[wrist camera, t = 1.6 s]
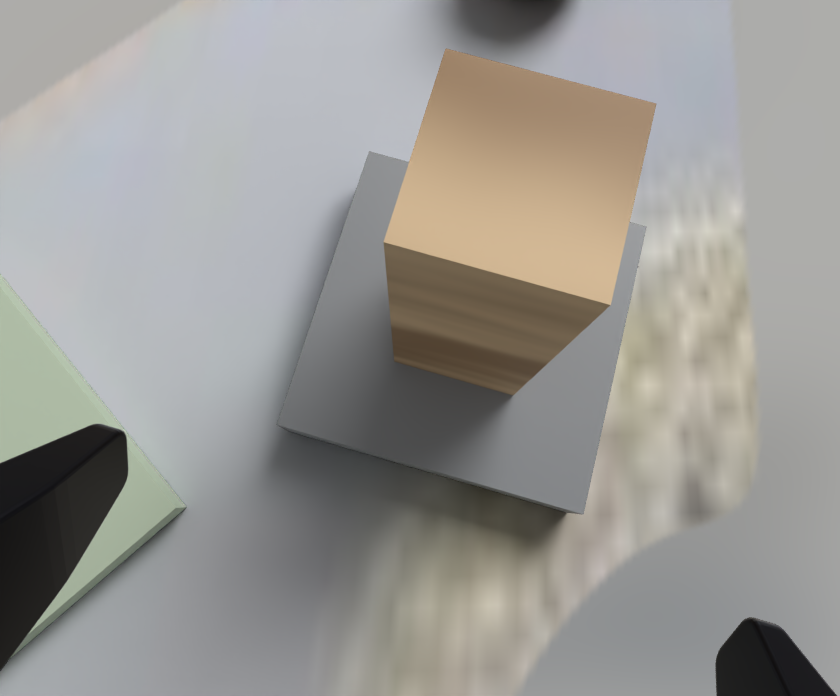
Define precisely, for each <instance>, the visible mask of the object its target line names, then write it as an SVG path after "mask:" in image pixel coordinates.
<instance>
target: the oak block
mask: <svg viewBox="0 0 840 696" xmlns="http://www.w3.org/2000/svg"><path fill="white" fill-rule="evenodd" d="M655 108H656V103H652V102H648V101H644V100H640V99H636V98H633V97H629V96H625V95H621V94H617V93H614V92H610V91H606V90H602V89H598V88H595V87H591V86H587V85H583V84H579V83H576V82H572V81H568V80H564V79H560V78H556V77H553V76H549V75H545V74H541V73H537V72H534V71H530V70H526V69H522V68H518V67H515V66H511V65H507V64H503V63H499V62H496V61H492V60H488V59H484V58H480V57H477V56H473V55H469V54H465V53H461V52H457V51H454V50H450V49H445V52H444V55H443V58H442V61H441V64H440V68H439V71H438V74H437V77H436V80H435V83H434V86H433V89H432V93H431V96H430V99H429V102H428V105H427V108H426V111H425V114H424V117H423V121H422V124H421V127H420V130H419V133H418V136H417V139H416V142H415V145H414V149H413V152H412V155H411V158H410V161H409V164H408V167H407V170H406V173H405V177H404V180H403V183H402V186H401V189H400V192H399V195H398V198H397V201H396V205H395V208H394V211H393V214H392V217H391V220H390V223H389V226H388V230H387V233H386V236H385V239H384V253H385V264H386V275H387V286H388V298H389V309H390V320H391V331H392V342H393V353H394V362H397V363H401V364H404V365H408V366H411V367H415V368H418V369H422V370H425V371H429V372H432V373H436V374H439V375H443V376H446V377H450V378H453V379H457V380H460V381H464V382H467V383H471V384H474V385H478V386H481V387H485V388H488V389H492V390H495V391H499V392H502V393H506V394H509V395H514V394H515V393H517V392H518V391H519V390H520V389H521V388H522V387H523V386H524V385H525V384H526V383H527V382H528V381H529V380H531V379H532V378H533V377H534V376H535V375H536V374H537V373H538V372H539V371H540V370H541V369H542V368H544V367H545V366H546V365H547V364H548V363H549V362H550V361H551V360H552V359H553V358H554V357H555V356H556V355H558V354H559V353H560V352H561V351H562V350H563V349H564V348H565V347H566V346H567V345H568V344H569V343H570V342H572V341H573V340H574V339H575V338H576V337H577V336H578V335H579V334H580V333H581V332H582V331H583V330H584V329H586V328H587V327H588V326H589V325H590V324H591V323H592V322H593V321H594V320H595V319H596V318H597V317H598V316H600V315H601V314H602V313H603V312H604V311H605V310H606V309H607V308H608V307H609V306H610V305H611V302H612V297H613V293H614V289H615V284H616V280H617V275H618V271H619V267H620V262H621V258H622V253H623V249H624V244H625V240H626V236H627V231H628V227H629V222H630V218H631V214H632V209H633V205H634V200H635V196H636V191H637V187H638V183H639V178H640V174H641V169H642V165H643V161H644V156H645V152H646V147H647V143H648V138H649V134H650V130H651V125H652V121H653V116H654V112H655Z"/></svg>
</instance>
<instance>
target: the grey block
mask: <svg viewBox="0 0 840 696" xmlns="http://www.w3.org/2000/svg"><path fill="white" fill-rule="evenodd" d="M408 164H409V162H407V161H403V160H399V159H396V158H392V157H388V156H385V155H381V154H377V153H373V152H370V151H369V153H368V156H367V159H366V162H365V165H364V168H363V171H362V174H361V177H360V180H359V183H358V186H357V189H356V191H355V194H354V197H353V200H352V203H351V206H350V209H349V212H348V215H347V218H346V221H345V224H344V227H343V230H342V233H341V236H340V239H339V242H338V245H337V248H336V251H335V253H334V256H333V259H332V262H331V265H330V268H329V271H328V274H327V277H326V280H325V283H324V286H323V289H322V292H321V295H320V298H319V301H318V304H317V307H316V310H315V312H314V315H313V318H312V321H311V324H310V327H309V330H308V333H307V336H306V339H305V342H304V345H303V348H302V351H301V354H300V357H299V360H298V363H297V366H296V369H295V372H294V374H293V377H292V380H291V383H290V386H289V389H288V392H287V395H286V398H285V401H284V404H283V407H282V410H281V413H280V416H279V419H278V422H277V425H278V426H280V427H282V428H284V429H285V430H287V431H290V432H293V433H297V434H300V435H304V436H307V437H311V438H314V439H317V440H321V441H324V442H328V443H331V444H334V445H338V446H341V447H345V448H348V449H352V450H355V451H358V452H362V453H365V454H369V455H372V456H375V457H379V458H382V459H386V460H389V461H393V462H396V463H399V464H403V465H406V466H410V467H413V468H416V469H420V470H423V471H427V472H430V473H434V474H437V475H440V476H444V477H447V478H451V479H454V480H458V481H461V482H464V483H468V484H471V485H475V486H478V487H481V488H485V489H488V490H492V491H495V492H499V493H502V494H505V495H509V496H512V497H516V498H519V499H522V500H526V501H529V502H533V503H536V504H540V505H543V506H546V507H550V508H553V509H557V510H560V511H563V512H567V513H575V514H584V509H585V505H586V500H587V496H588V491H589V487H590V482H591V477H592V473H593V468H594V464H595V459H596V455H597V450H598V446H599V441H600V436H601V432H602V427H603V423H604V418H605V414H606V409H607V404H608V400H609V395H610V391H611V386H612V382H613V377H614V373H615V368H616V363H617V359H618V354H619V350H620V345H621V341H622V336H623V332H624V327H625V322H626V318H627V313H628V309H629V304H630V300H631V295H632V291H633V286H634V281H635V277H636V272H637V268H638V263H639V259H640V254H641V249H642V245H643V240H644V236H645V231H646V226H643V225H639V224H635V223H632V222H629V227H628V231H627V236H626V240H625V244H624V249H623V253H622V258H621V262H620V267H619V271H618V275H617V280H616V284H615V289H614V293H613V297H612V302H611V305H610V306H609V307H608V308H607V309H606V310H605V311H604V312H603V313H602V314H601V315H600V316H598V317H597V318H596V319H595V320H594V321H593V322H592V323H591V324H590V325H589V326H588V327H587V328H586V329H584V330H583V331H582V332H581V333H580V334H579V335H578V336H577V337H576V338H575V339H574V340H573V341H572V342H570V343H569V344H568V345H567V346H566V347H565V348H564V349H563V350H562V351H561V352H560V353H559V354H558V355H556V356H555V357H554V358H553V359H552V360H551V361H550V362H549V363H548V364H547V365H546V366H545V367H544V368H542V369H541V370H540V371H539V372H538V373H537V374H536V375H535V376H534V377H533V378H532V379H531V380H529V381H528V382H527V383H526V384H525V385H524V386H523V387H522V388H521V389H520V390H519V391H518V392H517V393H515V394H514V395H509V394H506V393H502V392H499V391H495V390H492V389H488V388H485V387H481V386H478V385H474V384H471V383H467V382H464V381H460V380H457V379H453V378H450V377H446V376H443V375H439V374H436V373H432V372H429V371H425V370H422V369H418V368H415V367H411V366H408V365H404V364H401V363H397V362H394V353H393V342H392V331H391V320H390V309H389V298H388V286H387V275H386V264H385V253H384V239H385V236H386V233H387V230H388V226H389V223H390V220H391V217H392V214H393V211H394V208H395V205H396V201H397V198H398V195H399V192H400V189H401V186H402V183H403V180H404V177H405V173H406V170H407V167H408Z"/></svg>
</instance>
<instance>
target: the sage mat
mask: <svg viewBox="0 0 840 696" xmlns="http://www.w3.org/2000/svg"><path fill="white" fill-rule="evenodd" d="M92 424H104V425H107V426H110V427H114V428H117V429H121V430H122V431H124V433H125V434H126V437H127V451H128V477H127V480H126V483H125V485H124V487H123V489H122V491H121V493H120V494H119V496H118V498H117V499H116V501H115V503H114V504H113V506H112V508H111V509H110V511H109V513H108V514H107V516H106V518H105V520H104V521H103V523H102V525H101V526H100V528H99V530H98V531H97V533H96V535H95V536H94V538H93V540H92V541H91V543H90V545H89V546H88V548H87V550H86V551H85V553H84V555H83V556H82V558H81V560H80V561H79V563H78V565H77V566H76V568H75V570H74V571H73V573H72V574H71V576H70V577H69V579H68V581H67V582H66V583H65V585H64V586H63V588H62V589H61V590H60V592H59V593H58V595H57V596H56V597H55V599H54V600H53V601H52V603H51V604H50V605H49V607H48V608H47V609H46V611H45V612H44V613H43V615H42V616H41V617H40V619H39V620H38V621H37V623H36V624H35V625H34V627H33V628H32V629H31V631H30V632H29V633H28V635H27V636H26V638H25V639H24V640H23V642H22V643H21V644H20V646H19V647H18V648H17V650H16V651H15V652H14V654H13V655H12V656H11V657H13V656H14V655H15V654H16V653H17V652H18V651H20V650H21V649H22V648H23V647H24V646H25V645H27V644H28V643H29V642H30V641H31V640H32V639H34V638H35V637H36V636H37V635H38V634H39V633H41V632H42V631H43V630H44V629H45V628H46V627H48V626H49V625H50V624H51V623H52V622H53V621H54V620H56V619H57V618H58V617H59V616H60V615H61V614H63V613H64V612H65V611H66V610H67V609H68V608H70V607H71V606H72V605H73V604H74V603H75V602H77V601H78V600H79V599H80V598H81V597H82V596H84V595H85V594H86V593H87V592H88V591H89V590H91V589H92V588H93V587H94V586H95V585H96V584H98V583H99V582H100V581H101V580H102V579H103V578H105V577H106V576H107V575H108V574H109V573H110V572H112V571H113V570H114V569H115V568H116V567H117V566H119V565H120V564H121V563H122V562H123V561H124V560H126V559H127V558H128V557H129V556H130V555H131V554H133V553H134V552H135V551H136V550H137V549H138V548H140V547H141V546H142V545H143V544H144V543H145V542H147V541H148V540H149V539H150V538H151V537H152V536H154V535H155V534H156V533H157V532H158V531H159V530H161V529H162V528H163V527H164V526H165V525H166V524H168V523H169V522H170V521H171V520H172V519H173V518H175V517H176V516H177V515H178V514H179V513H180V512H182V511H183V510H184V509H185V508H186V506H185V505H184V504H183V502H182V501H181V500H180V499H179V497H178V496H177V495H176V494H175V492H174V491H173V490H172V489H171V487H170V486H169V485H168V484H167V482H166V481H165V480H164V479H163V477H162V476H161V475H160V474H159V472H158V471H157V470H156V469H155V467H154V466H153V465H152V464H151V462H150V461H149V460H148V459H147V457H146V456H145V455H144V454H143V452H142V451H141V450H140V449H139V447H138V446H137V445H136V444H135V442H134V441H133V440H132V439H131V437H130V436H129V435H128V434H127V432H126V431H125V430H124V429H123V427H122V426H121V425H120V423H119V422H118V421H117V420H116V418H115V417H114V416H113V415H112V413H111V412H110V411H109V410H108V408H107V407H106V406H105V405H104V403H103V402H102V401H101V400H100V398H99V397H98V396H97V395H96V393H95V392H94V391H93V390H92V388H91V387H90V386H89V385H88V383H87V382H86V381H85V380H84V378H83V377H82V376H81V375H80V373H79V372H78V371H77V370H76V368H75V367H74V366H73V365H72V363H71V362H70V361H69V360H68V358H67V357H66V356H65V355H64V353H63V352H62V351H61V350H60V348H59V347H58V346H57V345H56V343H55V342H54V341H53V340H52V338H51V337H50V336H49V335H48V333H47V332H46V331H45V330H44V328H43V327H42V326H41V325H40V323H39V322H38V321H37V320H36V318H35V317H34V316H33V315H32V313H31V312H30V311H29V310H28V308H27V307H26V306H25V305H24V303H23V302H22V301H21V300H20V298H19V297H18V296H17V295H16V293H15V292H14V291H13V290H12V288H11V287H10V286H9V285H8V283H7V282H6V281H5V280H4V278H3V277H2V276H1V275H0V463H1V462H4V461H6V460H8V459H11V458H13V457H16V456H18V455H20V454H23V453H25V452H27V451H30V450H32V449H35V448H37V447H39V446H42V445H44V444H47V443H49V442H51V441H54V440H56V439H58V438H61V437H63V436H66V435H68V434H70V433H73V432H75V431H77V430H80V429H82V428H85V427H87V426H89V425H92Z"/></svg>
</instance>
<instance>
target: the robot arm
mask: <svg viewBox="0 0 840 696" xmlns="http://www.w3.org/2000/svg"><path fill="white" fill-rule="evenodd" d="M127 477H128V451H127V437H126V434H125V433H124V431H122V430H121V429H117V428H114V427H110V426H107V425H104V424H92V425H89V426H87V427H85V428H82V429H80V430H77V431H75V432H73V433H70V434H68V435H66V436H63V437H61V438H58V439H56V440H54V441H51V442H49V443H47V444H44V445H42V446H39V447H37V448H35V449H32V450H30V451H27V452H25V453H23V454H20V455H18V456H16V457H13V458H11V459H8V460H6V461H4V462H1V463H0V671H1V670H2V668H3V667H4V666H5V664H6V663H7V662H8V660H9V659H10V658H11V656H12V655H13V654H14V652H15V651H16V650H17V648H18V647H19V646H20V644H21V643H22V642H23V640H24V639H25V638H26V636H27V635H28V633H29V632H30V631H31V629H32V628H33V627H34V625H35V624H36V623H37V621H38V620H39V619H40V617H41V616H42V615H43V613H44V612H45V611H46V609H47V608H48V607H49V605H50V604H51V603H52V601H53V600H54V599H55V597H56V596H57V595H58V593H59V592H60V590H61V589H62V588H63V586H64V585H65V583H66V582H67V581H68V579H69V577H70V576H71V574H72V573H73V571H74V570H75V568H76V566H77V565H78V563H79V561H80V560H81V558H82V556H83V555H84V553H85V551H86V550H87V548H88V546H89V545H90V543H91V541H92V540H93V538H94V536H95V535H96V533H97V531H98V530H99V528H100V526H101V525H102V523H103V521H104V520H105V518H106V516H107V514H108V513H109V511H110V509H111V508H112V506H113V504H114V503H115V501H116V499H117V498H118V496H119V494H120V493H121V491H122V489H123V487H124V485H125V483H126V480H127ZM716 692H717V696H837V695H836V694H835V693H834V691H833V690H832V689H831V688H830V687H829V685H828V684H827V683H826V682H825V680H824V679H823V678H822V677H821V675H820V674H819V673H818V672H817V670H816V669H815V668H814V667H813V665H812V664H811V663H810V662H809V660H808V659H807V658H806V657H805V656H804V654H803V653H802V652H801V650H799V648H798V647H797V646H796V644H795V643H794V642H793V641H792V639H791V638H790V637H789V636H788V634H787V633H786V632H785V631H784V630H783V629H782V628H781V627H780V626H778V625H776V624H773V623H770V622H767V621H763V620H760V619H756V618H752V617H749V618H747V619H744V620H743V621H742V622H741V624H740V625H739V626H738V627H737V628H736V630H735V631H734V632H733V633H732V635H731V636H730V637H729V638H728V639H727V641H726V642H725V643H724V644H723V646H722V647H721V648H720V650H719V652H718V655H717V658H716Z"/></svg>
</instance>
